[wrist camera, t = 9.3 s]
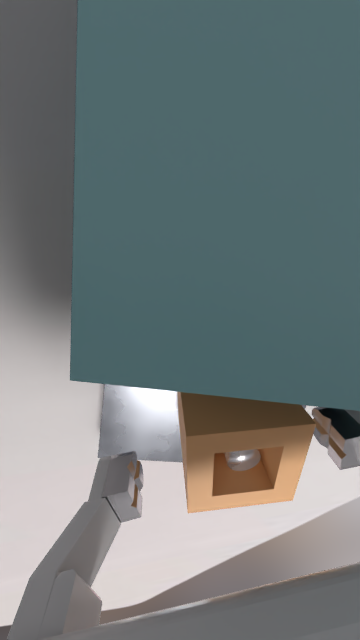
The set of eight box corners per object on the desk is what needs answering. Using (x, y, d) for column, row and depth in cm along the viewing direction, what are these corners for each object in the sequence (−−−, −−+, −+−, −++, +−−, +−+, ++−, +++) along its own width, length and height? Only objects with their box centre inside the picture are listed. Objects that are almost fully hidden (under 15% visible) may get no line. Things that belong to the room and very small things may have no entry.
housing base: (263, 448, 18) (309, 546, 12) (103, 437, 16) (72, 549, 10) (461, 59, 9) (938, -210, 3) (157, -81, 7) (147, -1275, 1)
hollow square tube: (248, 410, 14) (292, 500, 9) (178, 417, 14) (187, 513, 9) (256, 349, 12) (316, 423, 7) (175, 355, 12) (186, 436, 7)
